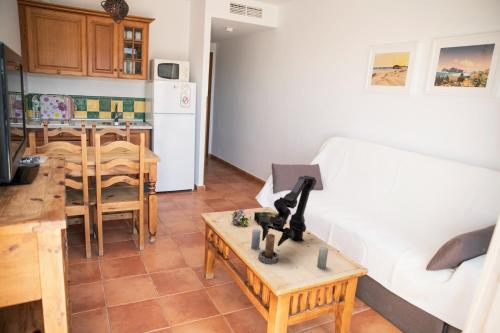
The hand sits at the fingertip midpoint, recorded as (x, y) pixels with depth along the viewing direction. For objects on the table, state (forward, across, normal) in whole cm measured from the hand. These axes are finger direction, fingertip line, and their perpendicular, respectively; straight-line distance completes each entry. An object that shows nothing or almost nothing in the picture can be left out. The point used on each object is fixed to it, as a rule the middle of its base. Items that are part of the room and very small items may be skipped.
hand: (270, 243), depth 179 cm
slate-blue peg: (+2, -12, +11) cm, 16 cm away
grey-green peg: (-1, +25, +14) cm, 28 cm away
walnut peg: (+6, 0, +6) cm, 9 cm away
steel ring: (+6, 0, +6) cm, 9 cm away
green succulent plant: (-14, -39, +27) cm, 49 cm away
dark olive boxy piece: (-26, -26, +40) cm, 54 cm away
